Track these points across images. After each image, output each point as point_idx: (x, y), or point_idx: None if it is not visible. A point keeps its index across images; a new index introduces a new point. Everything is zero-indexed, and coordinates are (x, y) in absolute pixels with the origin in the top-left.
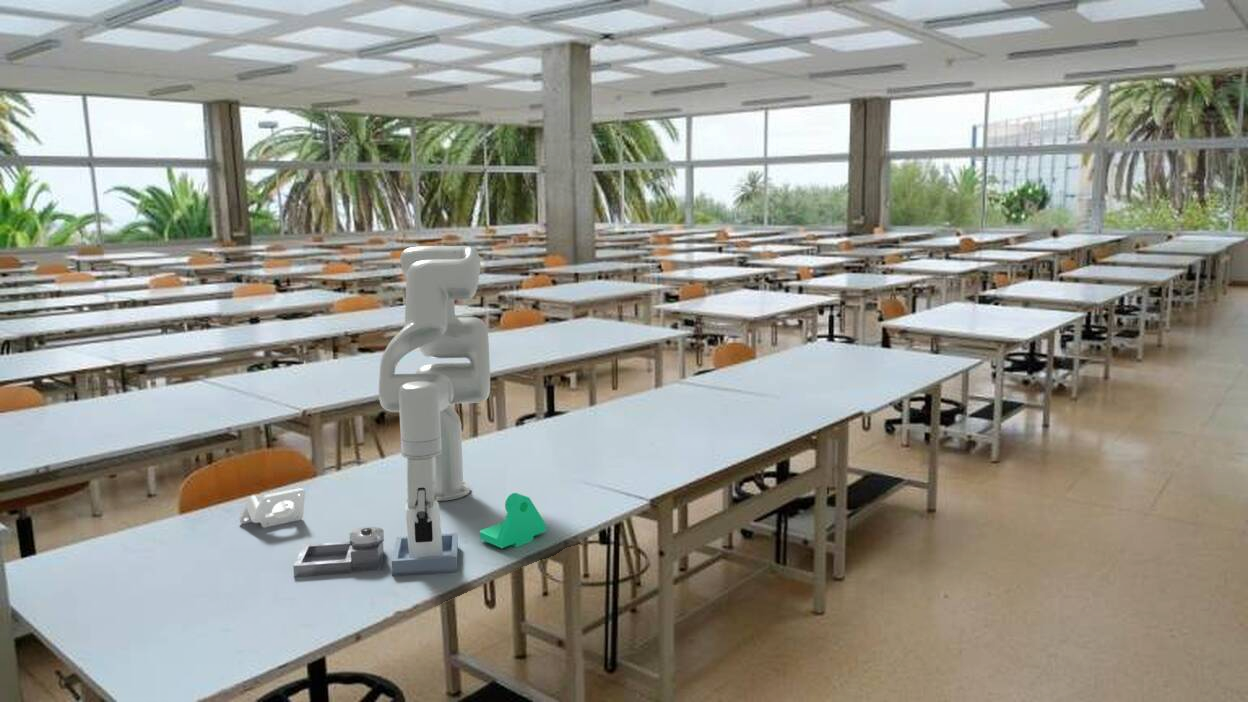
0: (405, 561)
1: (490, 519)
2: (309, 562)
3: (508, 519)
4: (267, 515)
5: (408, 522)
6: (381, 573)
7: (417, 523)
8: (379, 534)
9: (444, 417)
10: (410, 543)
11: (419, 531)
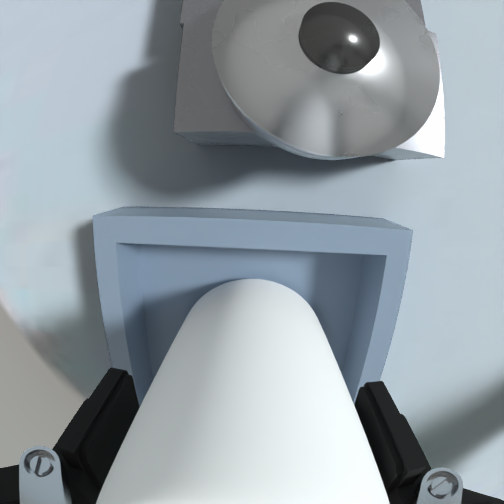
0: (100, 278)
1: (468, 442)
2: None
3: None
4: None
5: (157, 411)
6: (158, 159)
7: (43, 453)
8: (284, 126)
9: None
10: (194, 325)
11: (71, 424)
